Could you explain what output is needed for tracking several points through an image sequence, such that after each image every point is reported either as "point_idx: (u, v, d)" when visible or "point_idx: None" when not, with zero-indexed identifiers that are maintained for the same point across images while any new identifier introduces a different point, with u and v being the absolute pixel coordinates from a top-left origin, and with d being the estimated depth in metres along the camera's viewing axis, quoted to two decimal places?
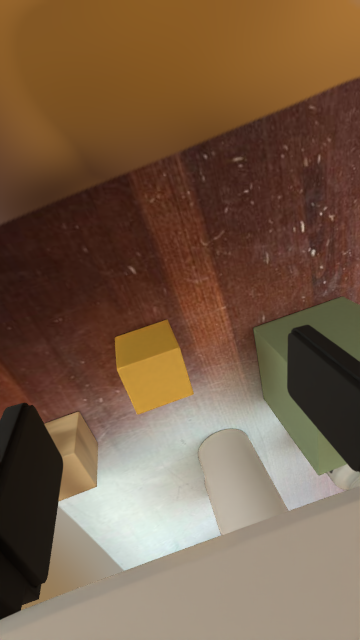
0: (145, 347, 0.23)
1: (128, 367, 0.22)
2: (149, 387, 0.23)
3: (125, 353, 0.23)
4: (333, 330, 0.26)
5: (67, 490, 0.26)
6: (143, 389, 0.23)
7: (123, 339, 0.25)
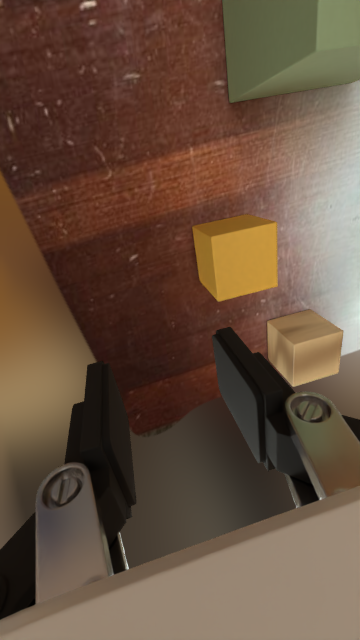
0: (207, 265, 0.23)
1: (219, 290, 0.22)
2: (249, 272, 0.22)
3: (209, 285, 0.23)
4: None
5: (332, 354, 0.28)
6: (249, 279, 0.22)
7: (201, 277, 0.25)
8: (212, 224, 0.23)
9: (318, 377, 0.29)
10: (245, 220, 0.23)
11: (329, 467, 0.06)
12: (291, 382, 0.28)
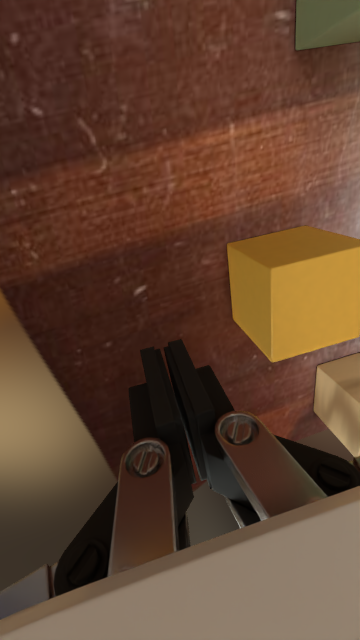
0: (255, 306, 0.15)
1: (275, 347, 0.14)
2: (322, 319, 0.14)
3: (255, 333, 0.16)
4: None
5: None
6: (321, 328, 0.14)
7: (238, 316, 0.18)
8: (259, 242, 0.16)
9: None
10: (312, 237, 0.15)
11: (270, 491, 0.06)
12: (355, 454, 0.21)
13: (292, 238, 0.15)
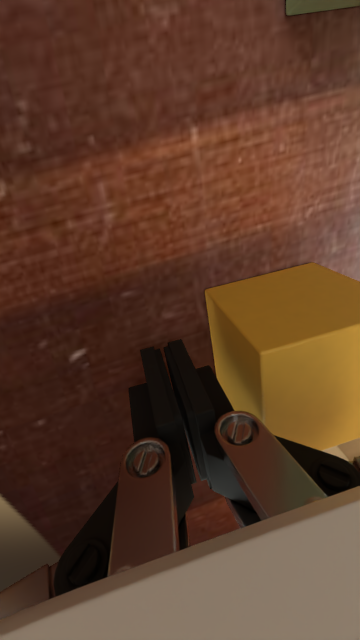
0: (242, 386, 0.10)
1: None
2: (339, 411, 0.10)
3: None
4: None
5: None
6: (337, 423, 0.10)
7: (222, 382, 0.13)
8: (248, 291, 0.11)
9: None
10: (323, 286, 0.10)
11: (270, 491, 0.06)
12: None
13: (294, 286, 0.11)
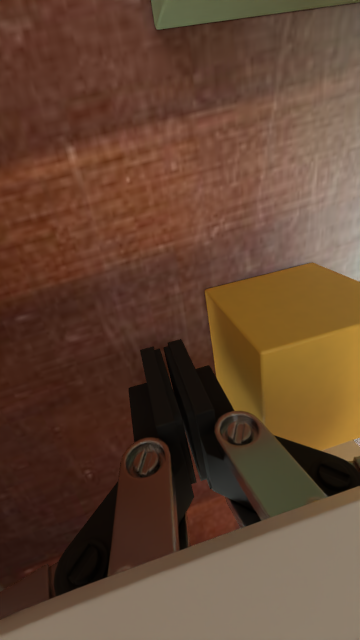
0: (241, 386, 0.10)
1: None
2: (339, 411, 0.10)
3: None
4: None
5: None
6: (337, 422, 0.10)
7: (222, 383, 0.13)
8: (248, 291, 0.11)
9: None
10: (323, 286, 0.10)
11: (270, 492, 0.06)
12: None
13: (294, 286, 0.11)
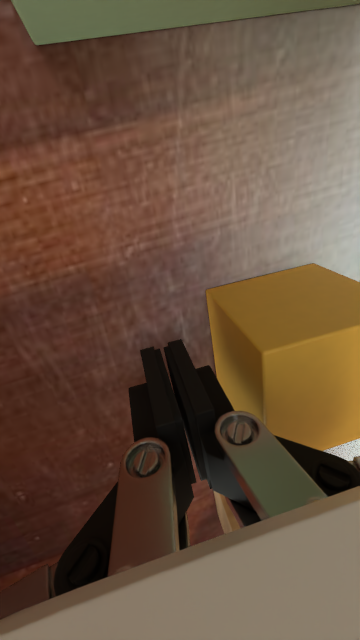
0: (243, 387, 0.10)
1: None
2: (340, 412, 0.10)
3: None
4: None
5: None
6: (338, 423, 0.10)
7: (223, 383, 0.13)
8: (249, 291, 0.11)
9: None
10: (324, 287, 0.10)
11: (270, 491, 0.06)
12: None
13: (296, 287, 0.11)
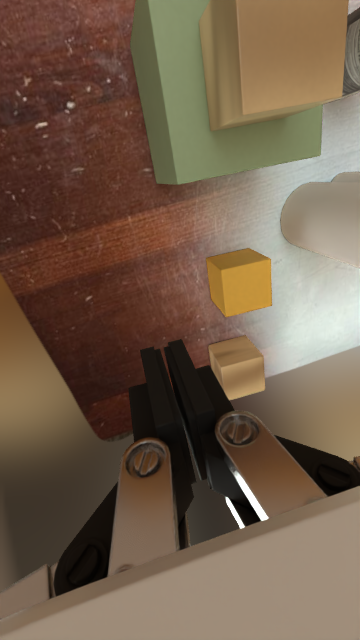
0: (218, 289, 0.29)
1: (227, 309, 0.29)
2: (250, 295, 0.29)
3: (219, 304, 0.30)
4: (148, 99, 0.21)
5: (256, 375, 0.33)
6: (250, 300, 0.29)
7: (213, 296, 0.32)
8: (221, 257, 0.30)
9: (247, 393, 0.34)
10: (247, 255, 0.30)
11: (270, 491, 0.06)
12: None
13: (238, 255, 0.30)
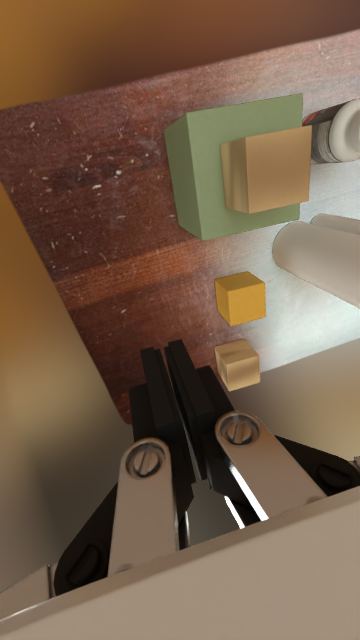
0: (224, 304, 0.38)
1: (231, 320, 0.38)
2: (249, 309, 0.38)
3: (225, 315, 0.39)
4: (179, 175, 0.29)
5: (253, 370, 0.42)
6: (249, 313, 0.38)
7: (219, 309, 0.41)
8: (227, 279, 0.39)
9: (246, 385, 0.43)
10: (247, 278, 0.39)
11: (270, 491, 0.06)
12: (228, 388, 0.43)
13: (239, 278, 0.39)
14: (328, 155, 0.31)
